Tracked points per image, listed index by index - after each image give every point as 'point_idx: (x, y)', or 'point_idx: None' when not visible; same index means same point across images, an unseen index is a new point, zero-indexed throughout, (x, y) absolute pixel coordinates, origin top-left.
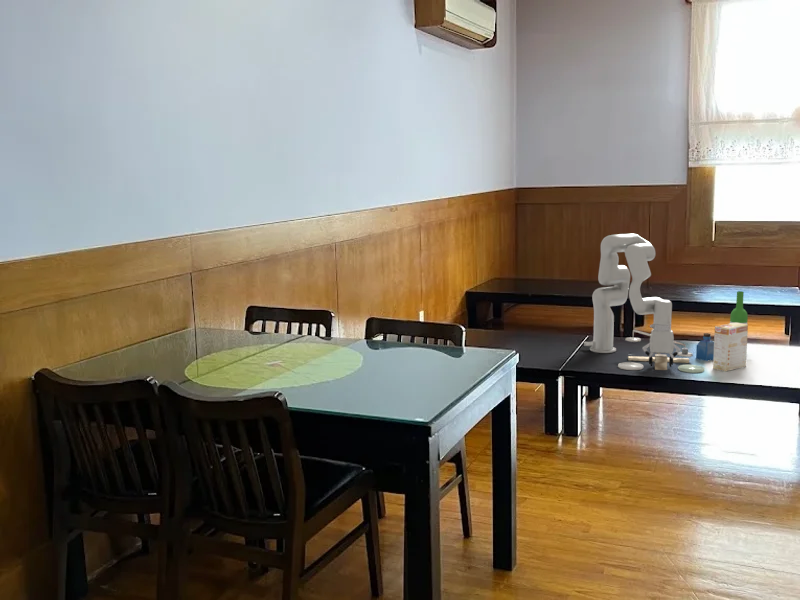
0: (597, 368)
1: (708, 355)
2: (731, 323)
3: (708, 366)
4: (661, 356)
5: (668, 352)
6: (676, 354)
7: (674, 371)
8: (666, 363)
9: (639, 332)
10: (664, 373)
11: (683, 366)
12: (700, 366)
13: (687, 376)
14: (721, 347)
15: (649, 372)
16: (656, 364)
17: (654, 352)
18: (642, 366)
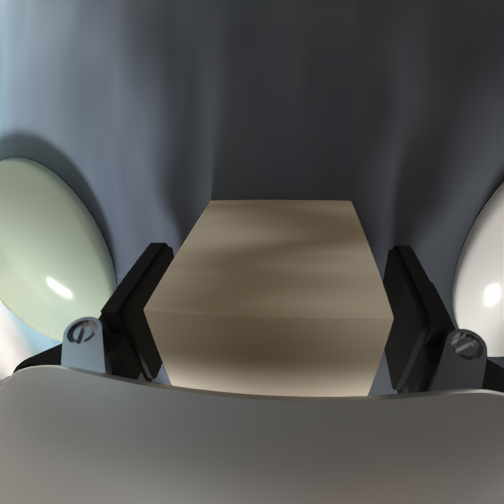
0: None
1: None
2: None
3: (11, 334)
4: (263, 351)
5: (75, 381)
6: (29, 361)
7: (127, 160)
8: (193, 241)
9: None
10: (239, 24)
11: (72, 292)
12: (2, 299)
13: (26, 12)
14: None
15: (431, 53)
16: (348, 231)
17: (452, 392)
18: (486, 238)
